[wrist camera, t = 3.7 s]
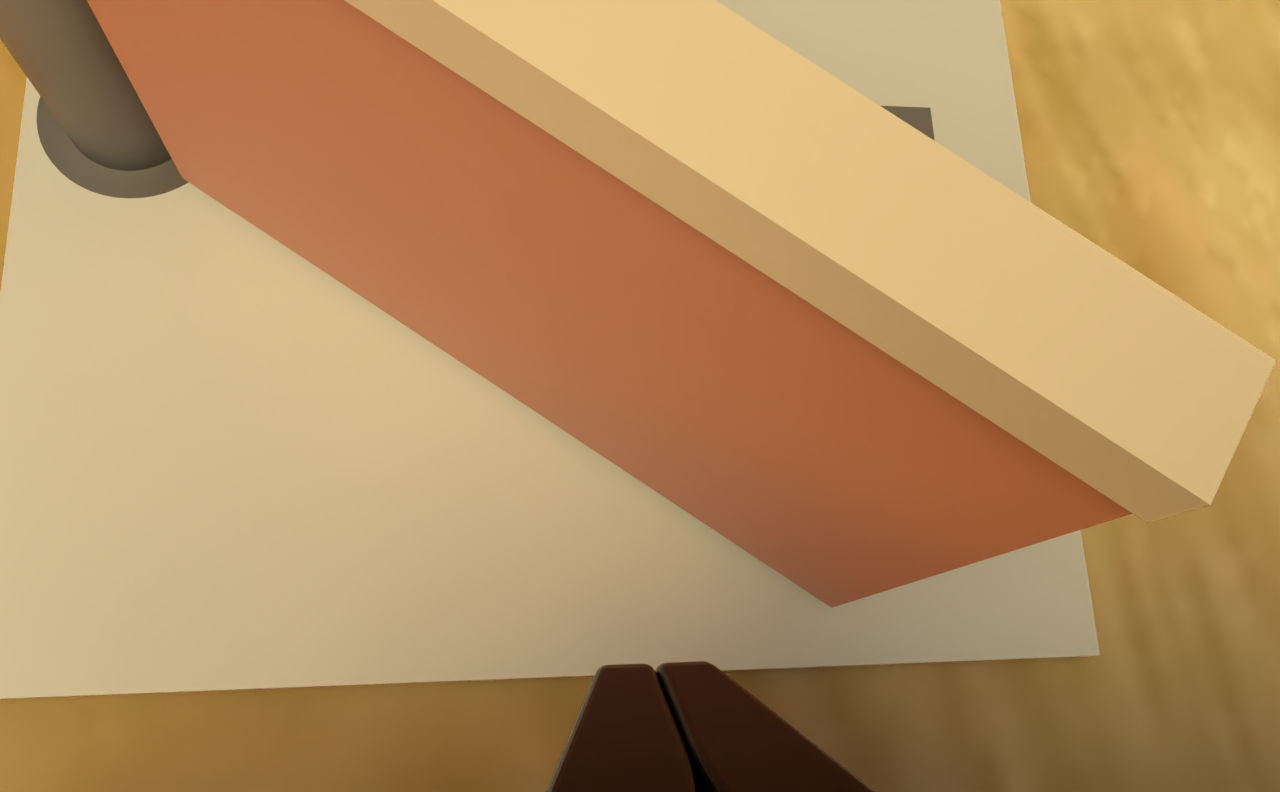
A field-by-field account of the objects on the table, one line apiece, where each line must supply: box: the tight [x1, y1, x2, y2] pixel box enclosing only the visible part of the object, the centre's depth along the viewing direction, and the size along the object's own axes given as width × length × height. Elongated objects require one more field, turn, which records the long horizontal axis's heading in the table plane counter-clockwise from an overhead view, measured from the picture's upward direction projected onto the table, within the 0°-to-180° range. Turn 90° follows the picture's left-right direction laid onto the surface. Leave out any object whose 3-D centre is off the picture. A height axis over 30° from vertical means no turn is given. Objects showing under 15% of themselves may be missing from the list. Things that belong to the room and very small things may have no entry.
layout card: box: [0, 0, 1100, 699], centre depth 17 cm, size 16×15×1 cm
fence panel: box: [87, 0, 1276, 608], centre depth 11 cm, size 11×1×8 cm, turn 58°
